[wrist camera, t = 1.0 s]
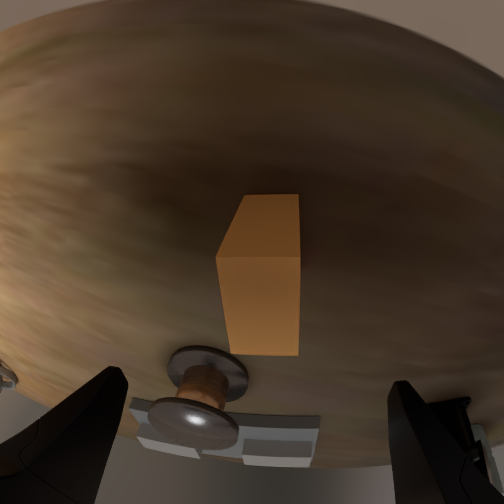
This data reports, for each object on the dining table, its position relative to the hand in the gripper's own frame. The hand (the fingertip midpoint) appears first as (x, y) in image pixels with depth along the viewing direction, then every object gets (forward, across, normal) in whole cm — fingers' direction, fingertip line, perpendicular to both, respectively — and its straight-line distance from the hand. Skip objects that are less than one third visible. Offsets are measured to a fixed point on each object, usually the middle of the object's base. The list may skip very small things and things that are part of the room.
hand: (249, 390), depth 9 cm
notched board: (+11, +6, +24) cm, 27 cm away
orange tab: (+11, 0, 0) cm, 11 cm away
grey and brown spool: (+11, +6, +13) cm, 18 cm away
